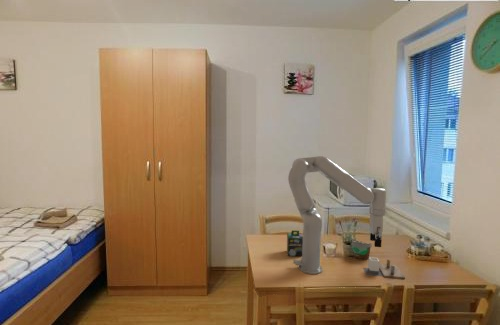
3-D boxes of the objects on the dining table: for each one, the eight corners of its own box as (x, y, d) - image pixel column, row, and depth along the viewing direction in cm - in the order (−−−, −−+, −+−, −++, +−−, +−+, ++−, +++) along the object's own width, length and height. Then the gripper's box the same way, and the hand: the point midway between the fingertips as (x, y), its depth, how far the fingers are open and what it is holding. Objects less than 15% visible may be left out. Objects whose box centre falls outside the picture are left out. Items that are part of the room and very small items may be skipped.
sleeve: (370, 273, 163) (370, 260, 163) (368, 269, 168) (368, 257, 167) (378, 274, 163) (379, 261, 162) (376, 270, 167) (377, 257, 167)
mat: (366, 275, 162) (366, 274, 162) (362, 268, 170) (362, 267, 170) (384, 276, 160) (384, 276, 160) (380, 269, 169) (380, 269, 169)
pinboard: (384, 277, 159) (384, 267, 159) (376, 265, 174) (377, 256, 174) (404, 279, 158) (405, 269, 157) (395, 267, 173) (396, 258, 172)
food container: (346, 256, 187) (347, 240, 186) (351, 254, 191) (351, 238, 190) (366, 262, 178) (367, 245, 177) (371, 259, 183) (372, 243, 182)
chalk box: (301, 251, 194) (302, 228, 193) (302, 257, 185) (303, 232, 183) (286, 250, 194) (287, 227, 193) (287, 256, 185) (288, 232, 184)
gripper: (366, 207, 172) (364, 237, 173) (373, 215, 155) (371, 248, 156) (380, 208, 171) (378, 238, 172) (389, 216, 153) (387, 249, 155)
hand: (375, 243), depth 164 cm, fingers open, 9 cm apart
